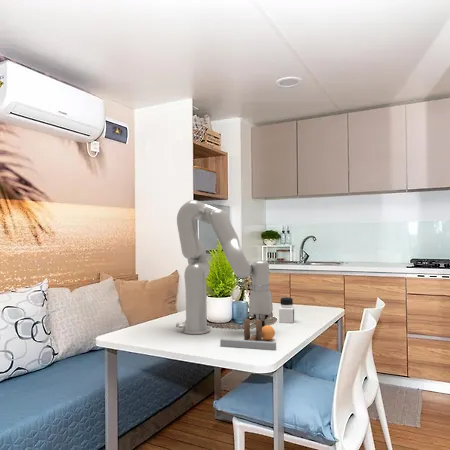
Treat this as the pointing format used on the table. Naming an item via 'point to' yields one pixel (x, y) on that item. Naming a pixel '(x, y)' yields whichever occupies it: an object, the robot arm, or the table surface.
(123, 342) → the table surface
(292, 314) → the medicine bottle
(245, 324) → the back pin left
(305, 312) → the table surface
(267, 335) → the ball
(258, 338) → the back pin right
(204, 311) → the robot arm
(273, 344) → the stopper rail
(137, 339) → the table surface
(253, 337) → the front pin
